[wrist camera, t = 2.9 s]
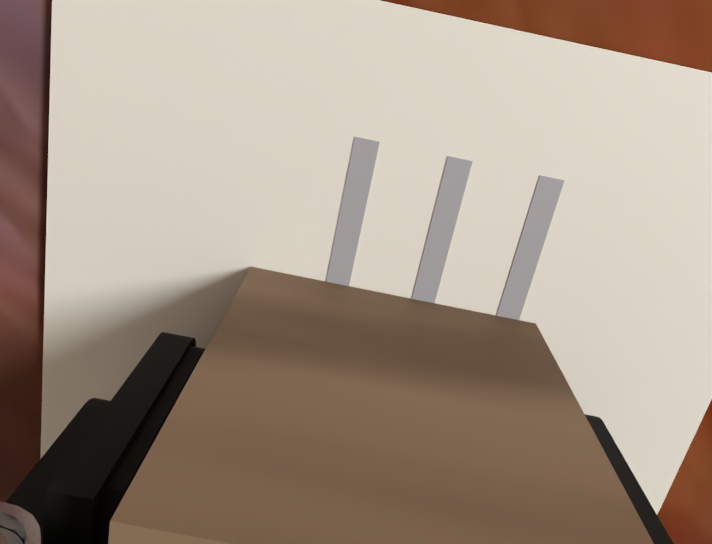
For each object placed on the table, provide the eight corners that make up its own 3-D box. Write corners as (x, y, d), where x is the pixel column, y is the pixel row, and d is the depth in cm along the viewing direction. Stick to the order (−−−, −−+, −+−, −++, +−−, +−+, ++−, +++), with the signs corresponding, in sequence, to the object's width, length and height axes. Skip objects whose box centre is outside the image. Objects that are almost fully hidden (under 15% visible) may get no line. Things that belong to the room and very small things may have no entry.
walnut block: (251, 266, 11) (110, 521, 5) (535, 323, 11) (699, 629, 5) (216, 498, 13) (82, 876, 7) (461, 544, 13) (526, 949, 7)
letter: (63, -68, 9) (53, -71, 9) (837, 100, 10) (851, 102, 9) (43, 616, 14) (35, 629, 14) (556, 707, 15) (560, 721, 14)
